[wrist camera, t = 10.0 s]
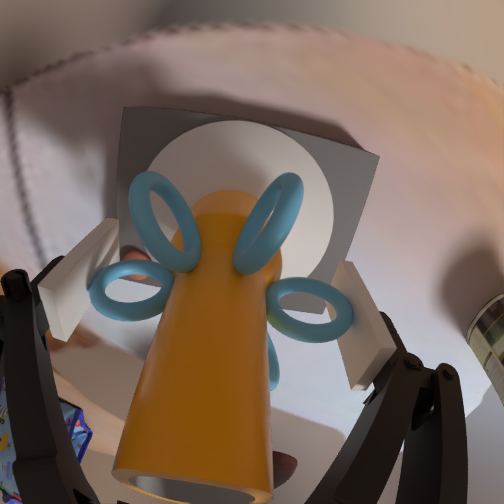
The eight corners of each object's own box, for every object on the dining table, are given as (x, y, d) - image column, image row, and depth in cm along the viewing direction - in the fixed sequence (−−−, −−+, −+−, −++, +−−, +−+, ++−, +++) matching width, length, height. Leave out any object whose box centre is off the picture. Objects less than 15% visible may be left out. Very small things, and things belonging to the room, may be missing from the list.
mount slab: (129, 260, 25) (114, 282, 22) (139, 106, 19) (119, 107, 16) (316, 294, 27) (323, 319, 24) (364, 150, 20) (383, 158, 17)
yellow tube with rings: (114, 191, 17) (-61, 362, 3) (260, 107, 14) (331, 69, 1) (208, 325, 22) (179, 519, 9) (336, 275, 20) (410, 487, 6)
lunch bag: (21, 398, 44) (-16, 485, 19) (2, 366, 38) (-48, 464, 13) (94, 433, 47) (66, 535, 21) (82, 407, 41) (42, 530, 15)
